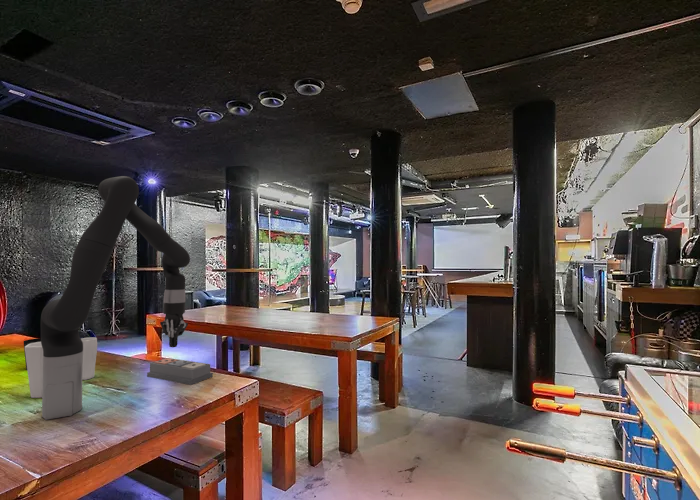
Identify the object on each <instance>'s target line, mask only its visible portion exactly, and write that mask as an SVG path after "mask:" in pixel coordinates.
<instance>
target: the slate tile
mask: <svg viewBox="0 0 700 500" xmlns="http://www.w3.org/2000/svg"><path fill="white" fill-rule="evenodd" d="M192 362H193V361H192V360H191V361H190V360H186V359H184V360H183V359H179V361H175V362H172V363H168V365H169V366H175V367H180V366H183V365H186V364H190V363H192Z"/></svg>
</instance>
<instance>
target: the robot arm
mask: <svg viewBox="0 0 700 500" xmlns="http://www.w3.org/2000/svg"><path fill="white" fill-rule="evenodd" d="M97 189H98V194H99V197H100V198H101V199H102V200H103V202H104V205H103V207H102V210H101V211H100V213H99V214H98V215H97V216H96V217H95V218H94V220H93V221H91V223H90V224H89V225H88V227H87V228H86V229H85V230H84V232H83V233H82V234H81V236H80V238H79V240H78V242H77V245H76V247H75V249H74V252H73V255H72V258H71V259H72V260H71V265H70V276H69V280H68V283H67V286H66V287H65V290H63V291H64V292H63V293H62V295H61V297H60V298H58V299H54V300H52V301H50V302H48V303H47V304H45V306H44V307H43V309H42V311H41V315H40V338H41V345H42V348H43V387H42V397H41V400H42V401H41V417H42V418H44V420H45V421H46V420H52V419H58V418H64V417H70V416H71V417H72V416H73V415H75V414H76V413H77V412H80V411H81V410H82V409H83V380H82V376H83V342H82V340H81V339H82V338H81V337H80V332H79V328H81V327H82V326H83V325H84V324H85V322H86V320H87V318H88V316H89V313H90V311H91V306H92V302H93V299H94V296H95V294H96V290H97V287H98V285H99V283H100V280H101V278H102V276H103V274H104V271H105V269H106V267H107V265H108V263H109V261H110V258H111V257H112V256H111V255H112V254H113V251H114V249H115V245H116V243H117V240H118V238H119V236H120V233H121V232H122V229H123V226H124V223H125V221H127V222H129V224H130V225H132V227H134V229H136V230H137V231H138V233H140V235H142V237H143V238H144V239H145V240H146V241H147V242H148V243H149V245H151V247H152V248H153V249H154V250H155V251H157V252H159V253H163V254H162V256H161V267H162V271H163V272H162V273H163V275H164V280H165V281H164V289H165V290H164V294H163V308H162V309H163V311H162V313H163V315H165V317H164V320H163V321H160V326H161V329H162V330H163V333H164V335H165V336H167V337H168V338H169V340H168V345H169V348H176V347H178V338H179V336H180V337H181V336H182V335H183V334H184V332H185V330H186V329H187V327H188V325H189V323H188V322H185V321H184V314H185V313H186V277H185V275H184V274H182V273H181V271H180V269H181V268H185V267H187V266H188V265H189V264H190V262H191V261H190V260H191V257H190V254H189V252H188V251H187V249H186V248H184V247H183V246H182V245H181V244H180V243H178V242H177V241H176V240H174V239H173V238H172V237H171V235H170V234H168V232H167V231H166V230H165V228H164V227H163V226H162V225H161V224H160V223H159V222H157V220H155V219H154V218H153V217H151V216H149V215H148V214H147V213H146V212H145V211H143V210H142V209H141V208H140V207H139V206H138V205H137V204H136V202H137V200H138V197H139V192H140V189H139V185H138V183H137V181H136V180H135V179H133V178H132V177H130V176H126V175H121V176H115V177H114V176H113V177H109V178H105V179H104V180H102V181H101V182H100V183H99V185H98V188H97Z"/></svg>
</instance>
